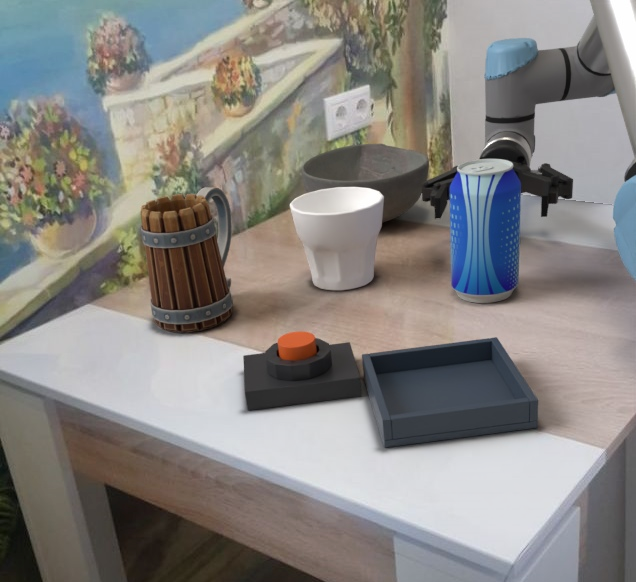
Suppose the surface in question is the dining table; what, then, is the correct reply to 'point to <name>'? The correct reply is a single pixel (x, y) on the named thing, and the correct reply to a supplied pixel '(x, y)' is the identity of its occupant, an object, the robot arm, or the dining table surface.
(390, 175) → the bowl
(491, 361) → the shallow square tray
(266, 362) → the dark grey button base
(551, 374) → the dining table surface
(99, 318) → the dining table surface
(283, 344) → the button
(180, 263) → the mug
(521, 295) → the dining table surface
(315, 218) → the cup
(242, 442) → the dining table surface
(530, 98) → the robot arm
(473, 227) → the beer can
